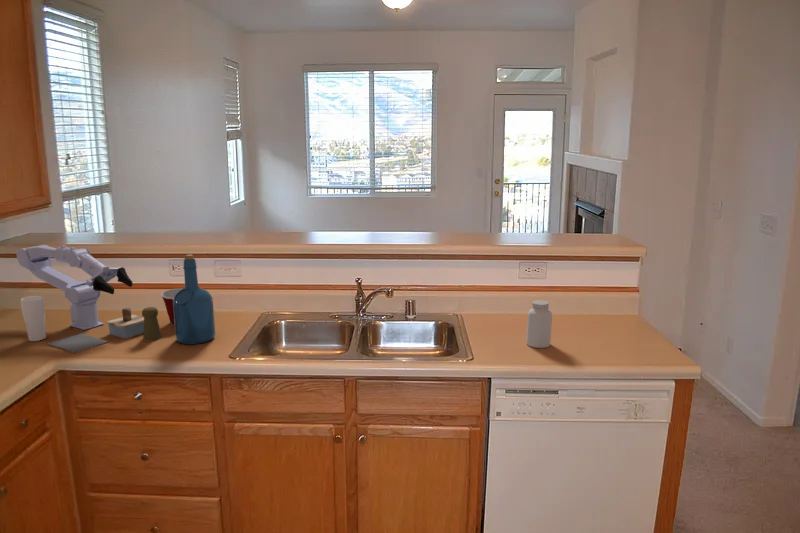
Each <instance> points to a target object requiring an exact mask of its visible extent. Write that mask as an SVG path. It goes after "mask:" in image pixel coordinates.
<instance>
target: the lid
mask: <svg viewBox="0 0 800 533" xmlns="http://www.w3.org/2000/svg"><path fill="white" fill-rule="evenodd" d="M121 311H122V312H121V313H122V316H120V317H118V318H113V319H110V320H107V321H106V322H105V324H106V325H109V324H110V325H113V326H117V327H121V328H126V327H130V326H133V325H136V324H139V323H143V322H144V317H143V316H140V315H137V314H132V309H131V308H129V307H126V308H122V309H121Z"/></svg>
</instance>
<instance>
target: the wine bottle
mask: <svg viewBox="0 0 800 533" xmlns="http://www.w3.org/2000/svg"><path fill="white" fill-rule="evenodd" d="M196 261H197V260H196V258H194V254H191V253H190V254H186V255H184V258H183V265H182V266H183V268H182V269H183V272H184V273H183V275H184V287H183V288H181V289H182V290H180V291H179V292H178V293H177V294H176V295H175V296H174V298H173V311H174V323H175V325H174V331H175V332H174V333H175V339H176V341H177V343H180V344H184V345H197V344H198V343H199V344H203V343H206V342H210V341H211V340H213V339H214V338H215V336H216V324H215V313H214V312H215V310H214V298H213V297H212V295H211V293H210V292H209V291H208V290H207V289H205V288H202V287H200V286H199V281H198V279H199V278H198V271H197V269H198V266H197V262H196Z"/></svg>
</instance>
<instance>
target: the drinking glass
mask: <svg viewBox="0 0 800 533" xmlns="http://www.w3.org/2000/svg"><path fill="white" fill-rule="evenodd" d="M20 308H21V313H22V316H23V318H22V319H23V320H24V321H23V322H24V324H25V329H26V333H27V337H28V338H27V339H28V341H30V342H41V341H44V340H46V338H47V333H46V313H45V311H46V310H45V302H44V297H43V295H30V296H29V295H28V296H24V297H21V299H20ZM43 339H44V340H43ZM40 340H41V341H40Z"/></svg>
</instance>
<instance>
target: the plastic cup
mask: <svg viewBox="0 0 800 533" xmlns="http://www.w3.org/2000/svg"><path fill="white" fill-rule="evenodd" d="M182 289H183V288H172V289H166V290H164V291H162V292H161V293H160V297H162V299H163V302H164V305H165V309H166V313H167V316H168V319H169V322H170V324H171V325H173V326H175V323H174V311H173V298H174V296H175V295H176V294H177V293H178V292H179V291H180V290H182Z"/></svg>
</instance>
